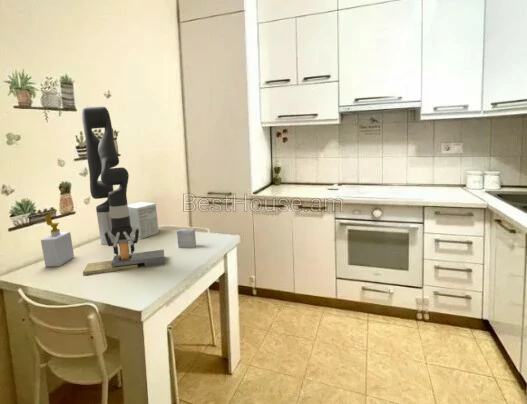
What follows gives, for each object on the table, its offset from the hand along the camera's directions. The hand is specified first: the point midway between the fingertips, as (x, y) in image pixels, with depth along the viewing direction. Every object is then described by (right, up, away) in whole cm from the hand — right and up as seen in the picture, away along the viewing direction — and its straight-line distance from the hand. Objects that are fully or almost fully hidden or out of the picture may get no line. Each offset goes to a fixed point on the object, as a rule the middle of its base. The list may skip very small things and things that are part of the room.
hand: (124, 253), depth 149 cm
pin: (0, -5, +1) cm, 5 cm away
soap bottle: (-33, -6, +9) cm, 35 cm away
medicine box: (+22, 0, +23) cm, 32 cm away
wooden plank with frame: (0, -5, +1) cm, 5 cm away
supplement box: (-9, +3, +49) cm, 49 cm away
